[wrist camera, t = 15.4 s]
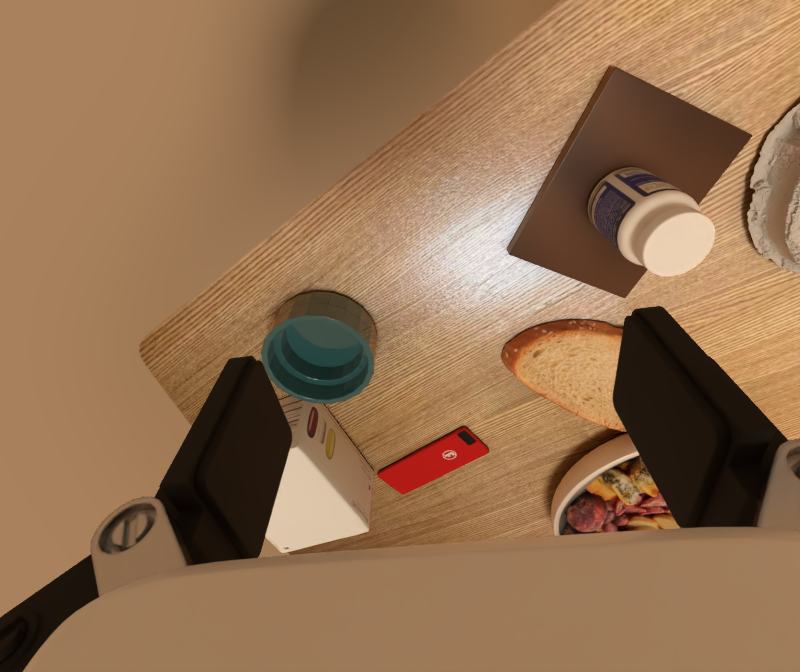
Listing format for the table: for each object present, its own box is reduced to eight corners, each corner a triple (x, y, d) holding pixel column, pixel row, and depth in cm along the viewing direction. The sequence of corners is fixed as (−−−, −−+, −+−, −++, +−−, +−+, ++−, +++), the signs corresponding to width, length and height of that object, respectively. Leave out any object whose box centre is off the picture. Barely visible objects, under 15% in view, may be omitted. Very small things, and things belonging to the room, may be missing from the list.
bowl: (766, 374, 50) (819, 425, 44) (775, 512, 65) (816, 565, 59) (515, 452, 58) (529, 505, 52) (575, 558, 73) (591, 609, 67)
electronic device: (402, 492, 64) (489, 449, 58) (402, 495, 63) (490, 452, 57) (376, 472, 61) (464, 425, 55) (375, 475, 61) (465, 428, 55)
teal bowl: (286, 275, 44) (274, 300, 40) (391, 309, 46) (389, 337, 42) (265, 357, 50) (252, 386, 46) (359, 384, 52) (354, 414, 48)
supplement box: (376, 469, 61) (371, 533, 53) (296, 492, 64) (280, 555, 57) (313, 386, 52) (296, 447, 45) (224, 417, 56) (195, 480, 48)
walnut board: (609, 65, 33) (615, 66, 32) (743, 132, 36) (753, 135, 35) (506, 249, 42) (508, 254, 41) (620, 292, 44) (625, 298, 43)
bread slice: (494, 337, 48) (500, 359, 45) (670, 283, 43) (689, 302, 40) (531, 441, 57) (537, 465, 54) (678, 405, 53) (695, 428, 50)
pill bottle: (607, 243, 40) (658, 298, 32) (572, 200, 38) (618, 247, 30) (667, 199, 38) (739, 246, 29) (634, 149, 35) (702, 185, 27)
